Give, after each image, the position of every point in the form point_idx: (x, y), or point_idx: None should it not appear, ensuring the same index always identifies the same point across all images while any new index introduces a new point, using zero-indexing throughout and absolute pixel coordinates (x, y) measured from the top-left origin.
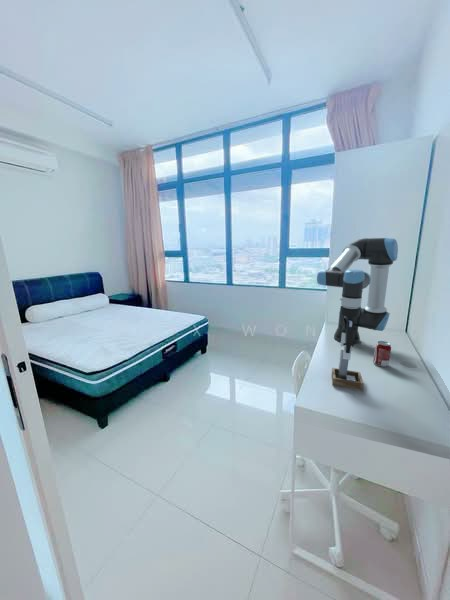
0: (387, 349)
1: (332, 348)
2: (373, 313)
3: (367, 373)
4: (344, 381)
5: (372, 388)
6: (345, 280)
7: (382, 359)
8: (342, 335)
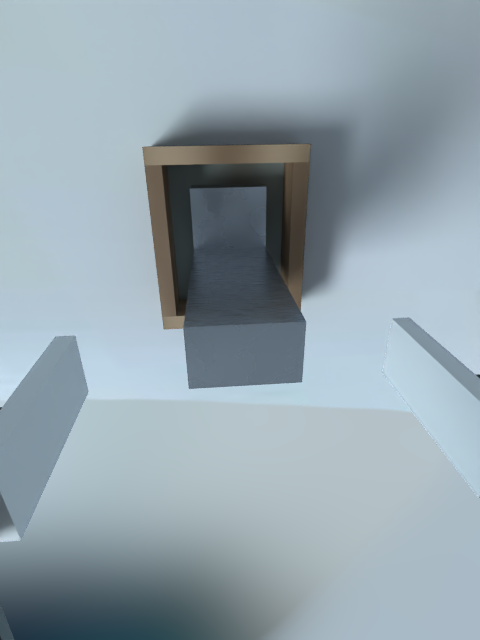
0: None
1: None
2: None
3: (25, 67)
4: (302, 260)
5: (244, 68)
6: None
7: None
8: (35, 495)
